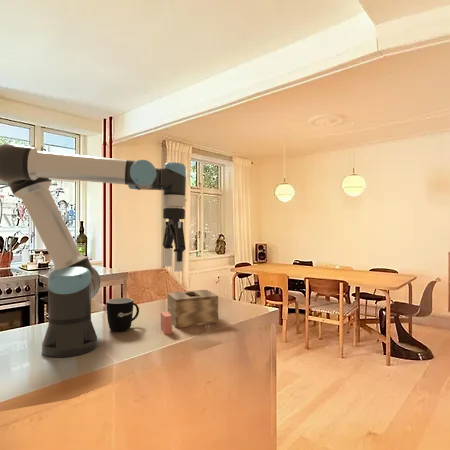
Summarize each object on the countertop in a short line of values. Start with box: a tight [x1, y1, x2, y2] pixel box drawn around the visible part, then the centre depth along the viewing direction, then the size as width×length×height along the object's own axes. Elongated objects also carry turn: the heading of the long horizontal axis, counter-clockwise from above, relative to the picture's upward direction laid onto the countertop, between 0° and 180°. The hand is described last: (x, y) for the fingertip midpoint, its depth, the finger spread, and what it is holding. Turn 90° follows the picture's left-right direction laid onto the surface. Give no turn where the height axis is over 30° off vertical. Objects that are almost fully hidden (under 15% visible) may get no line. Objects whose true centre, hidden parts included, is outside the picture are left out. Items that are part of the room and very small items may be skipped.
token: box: [160, 311, 173, 335], centre depth 122 cm, size 2×6×6 cm, turn 22°
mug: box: [105, 297, 140, 333], centre depth 126 cm, size 12×9×10 cm
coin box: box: [166, 289, 219, 329], centre depth 135 cm, size 16×13×10 cm
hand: (172, 268), depth 125 cm, fingers open, 13 cm apart
